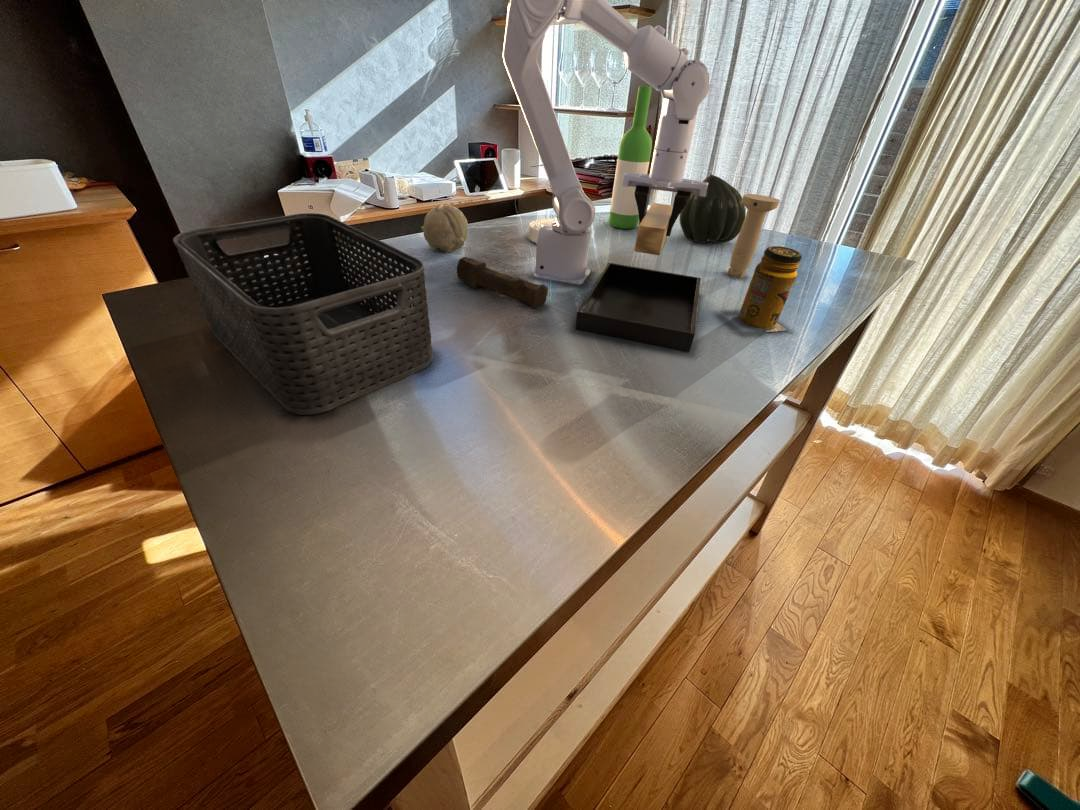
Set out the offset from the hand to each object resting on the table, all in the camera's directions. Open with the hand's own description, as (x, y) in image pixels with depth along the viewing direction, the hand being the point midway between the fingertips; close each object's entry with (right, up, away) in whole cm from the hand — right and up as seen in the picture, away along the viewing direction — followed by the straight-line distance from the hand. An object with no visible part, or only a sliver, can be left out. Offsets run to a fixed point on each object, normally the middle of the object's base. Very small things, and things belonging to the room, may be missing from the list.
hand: (654, 232), depth 83 cm
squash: (+20, +9, +28) cm, 35 cm away
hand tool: (-29, -13, -5) cm, 33 cm away
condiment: (+14, -19, -8) cm, 25 cm away
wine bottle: (0, +15, +34) cm, 37 cm away
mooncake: (-18, +7, +22) cm, 29 cm away
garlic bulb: (-42, +1, +12) cm, 44 cm away
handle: (+19, -6, +9) cm, 22 cm away
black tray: (-4, -17, -8) cm, 19 cm away
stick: (0, -1, +1) cm, 1 cm away
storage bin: (-51, -24, -22) cm, 61 cm away
